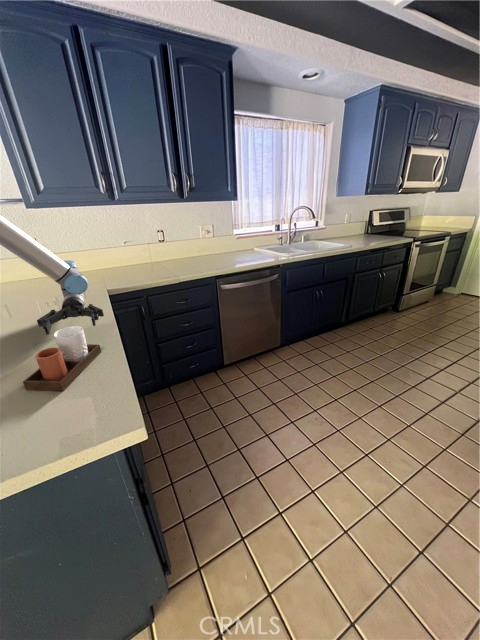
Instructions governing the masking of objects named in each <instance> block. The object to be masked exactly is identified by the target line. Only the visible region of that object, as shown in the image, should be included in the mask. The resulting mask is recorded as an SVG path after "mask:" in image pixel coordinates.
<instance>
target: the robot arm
mask: <svg viewBox="0 0 480 640" xmlns="http://www.w3.org/2000/svg"><path fill="white" fill-rule="evenodd" d="M0 246H2V247H3V248H4V249H6V250H8V251H9V252H11V253H12V254H14V255H15V256H16V257H18V258H20V259H21V260H22V261H24V262H26V263H27V264H29V265H30V266H31V267H33V268H35V269H36V270H37V271H39V272H40V273H42V274H44V275H45V276H46V277H48V278H50V279H51V280H53V281H54V282H55V283H57V284H58V285H60V289H61V293H62V296H63V301H62V304H61V308H60V309H59V310H55V309H51V310H50V311H49V312H48V313H46V314H44V315H42V316H41V317H39V318H38V319H36V322H37V325H38V327H39V328H42V329H43V330H44V332H45V335H46V336H47V335H50V333H51V329H52V325H54V324H56V323H57V322H60V321H61V320H63V321H64V320H67V319H68V318H78V317H89V318H90V320H91V324H92V326H93V327H96V326H97V325H96V321H99V317H104V316H105V315H104V310H103V309H102V308H100V307H97V306H96V305H94V304H92V303H89V304H88V305H87V306H86V305H85V304H86V303H85V302H86V294H85V292H87V290H88V288H89V282H88V279H87V278H86V276H84V275H83V274H81V273H80V272H79V269H78V266H77V263H76V262H75V260H68V259H67V260H62V259H61V258H60V257H59V256H57V255H56V254H55V253H53V252H52V251H50V250H49V249H48V248H46V247H45V246H44V245H43V244H41V243H39V241H37V240H35V238H33V237H31V236H30V235H28V233H26V232H25V231H24V230H22V228H21V229H20V228H19V226H17V225H16V224H14V223H12V222H11V221H10V220H8V219H7V218H6V217H5V216H3V215H2V214H1V213H0Z"/></svg>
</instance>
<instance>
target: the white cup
mask: <svg viewBox="0 0 480 640" xmlns="http://www.w3.org/2000/svg"><path fill="white" fill-rule="evenodd" d="M53 338H54V339H55V342H56V345H57V348H59V349H60V350H61V353H62V356H63V358H64V361H81V360H82V359H83V358H84V357H85V356H86V355H87V354H88V350H87V344H88V343H87V340H86V335H85V330H84V328H83V327H82V326H80V325H71V326H70V325H69V326H65V327H62V328H61V329H58V330H56V331H55V332H54V333H53Z"/></svg>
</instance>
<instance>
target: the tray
mask: <svg viewBox="0 0 480 640" xmlns="http://www.w3.org/2000/svg"><path fill="white" fill-rule="evenodd" d="M87 350H88V354H87V355H86V356H85V357H84V358H83V359H82V360H81V361H64V362H65V365H66V368H67V371H68V374H67V375H65V376H64V377H63V378H62V379H61V380H60V381H44V378H43V375H42V373H41V370H40V368H39V367H38V368H37V370H35V371H34V372H33V373H32V374H30V375H29V376H28V377H27V378H25V379H24V380H23V381H22V383H23V386H24V388H25V390H26V391H27V392H28V391H30V392H31V391H33V392H34V391H35V392H65V390H67V388H68V387H69V386H70V385H71V384H72V383H73V382H74V381H75V380H76V379H77V378H78V377H79V376H80V375H81V374H82V373H83V372H84V371H85V369H87V367H88V366H89V365H91V363H92V362H93V361H94V360H95V359H96V358H97V357H99V355H101V353H102V349H101V346H100V344H96V343H95V344H91V343H90V344H89V343H87ZM63 359H64V358H63Z"/></svg>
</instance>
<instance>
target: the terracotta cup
mask: <svg viewBox="0 0 480 640" xmlns="http://www.w3.org/2000/svg"><path fill="white" fill-rule="evenodd" d="M34 358H35V360H36V363H37V366H38V369H39V368H40V370H41V373H42V375H43V378H44V381H60V380H61V379H62V378H63V377H64V376H65V375H67V374H68V371H67V368H66V365H65V362H64V359H63V356H62V353H61V350H60V349H59V348H58V347H55V346H53V347H47V348H44V349H41V350H39V351H38V352H37V353H35V355H34Z"/></svg>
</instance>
